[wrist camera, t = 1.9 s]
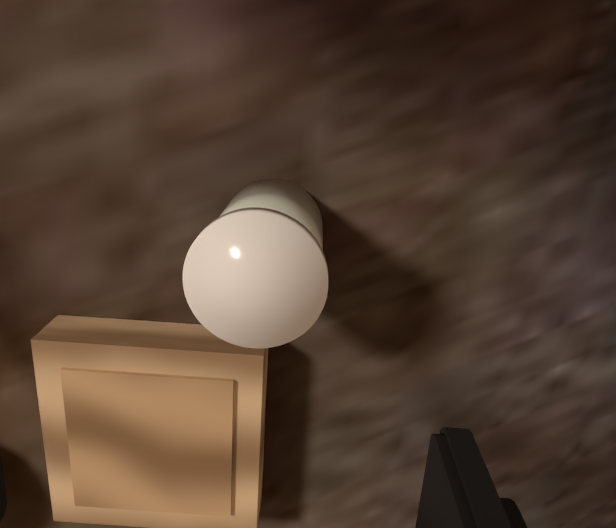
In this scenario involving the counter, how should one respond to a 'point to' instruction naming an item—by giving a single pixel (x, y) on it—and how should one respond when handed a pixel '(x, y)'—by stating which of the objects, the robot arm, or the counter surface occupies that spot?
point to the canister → (259, 267)
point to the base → (150, 423)
